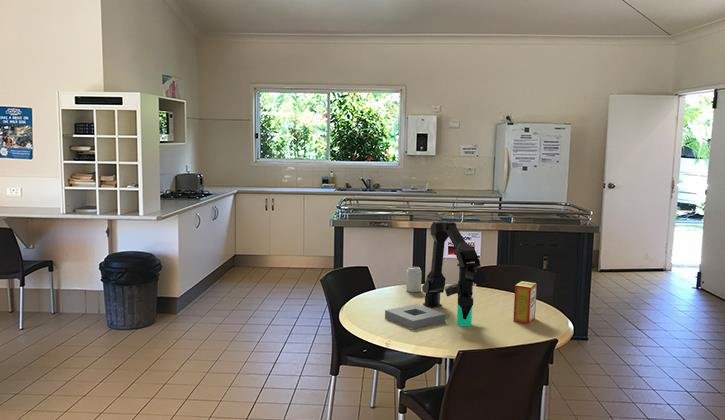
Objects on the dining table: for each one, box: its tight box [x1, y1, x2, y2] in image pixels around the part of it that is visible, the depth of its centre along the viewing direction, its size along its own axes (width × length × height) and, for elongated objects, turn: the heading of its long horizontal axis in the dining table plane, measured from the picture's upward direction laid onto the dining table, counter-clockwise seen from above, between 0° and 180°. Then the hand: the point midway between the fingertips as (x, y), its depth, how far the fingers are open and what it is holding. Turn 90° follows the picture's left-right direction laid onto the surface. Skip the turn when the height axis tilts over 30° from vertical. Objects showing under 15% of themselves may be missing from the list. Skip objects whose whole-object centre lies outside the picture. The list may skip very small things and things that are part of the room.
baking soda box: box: [513, 280, 538, 325], centre depth 250 cm, size 10×6×16 cm
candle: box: [456, 304, 473, 327], centre depth 243 cm, size 6×6×12 cm
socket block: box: [384, 303, 447, 330], centre depth 247 cm, size 18×18×4 cm
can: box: [405, 266, 422, 293], centre depth 296 cm, size 8×8×12 cm
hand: (464, 315), depth 243 cm, fingers open, 9 cm apart
